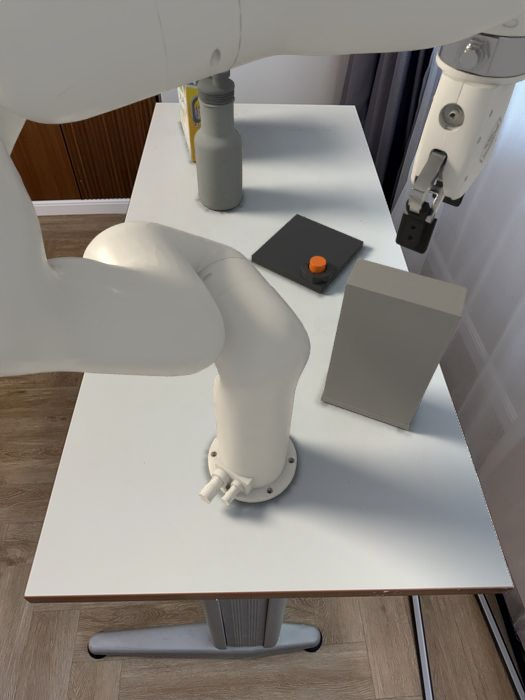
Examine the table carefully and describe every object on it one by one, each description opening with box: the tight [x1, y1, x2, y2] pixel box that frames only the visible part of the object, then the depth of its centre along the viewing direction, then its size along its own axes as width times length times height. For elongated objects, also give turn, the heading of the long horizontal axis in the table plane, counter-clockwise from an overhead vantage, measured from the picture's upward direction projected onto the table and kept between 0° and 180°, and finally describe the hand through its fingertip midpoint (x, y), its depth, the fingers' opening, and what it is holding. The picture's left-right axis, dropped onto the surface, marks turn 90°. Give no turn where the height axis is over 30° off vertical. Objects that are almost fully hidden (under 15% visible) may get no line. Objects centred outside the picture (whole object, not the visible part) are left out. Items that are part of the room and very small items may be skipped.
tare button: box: [309, 256, 326, 273], centre depth 94 cm, size 3×3×2 cm
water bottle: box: [190, 69, 243, 211], centre depth 102 cm, size 10×10×28 cm
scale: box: [251, 213, 364, 295], centre depth 100 cm, size 17×16×3 cm
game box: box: [177, 82, 201, 162], centre depth 119 cm, size 21×6×27 cm, turn 13°
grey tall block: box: [320, 257, 468, 431], centre depth 70 cm, size 14×6×25 cm, turn 68°
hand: (428, 223), depth 53 cm, fingers open, 9 cm apart
